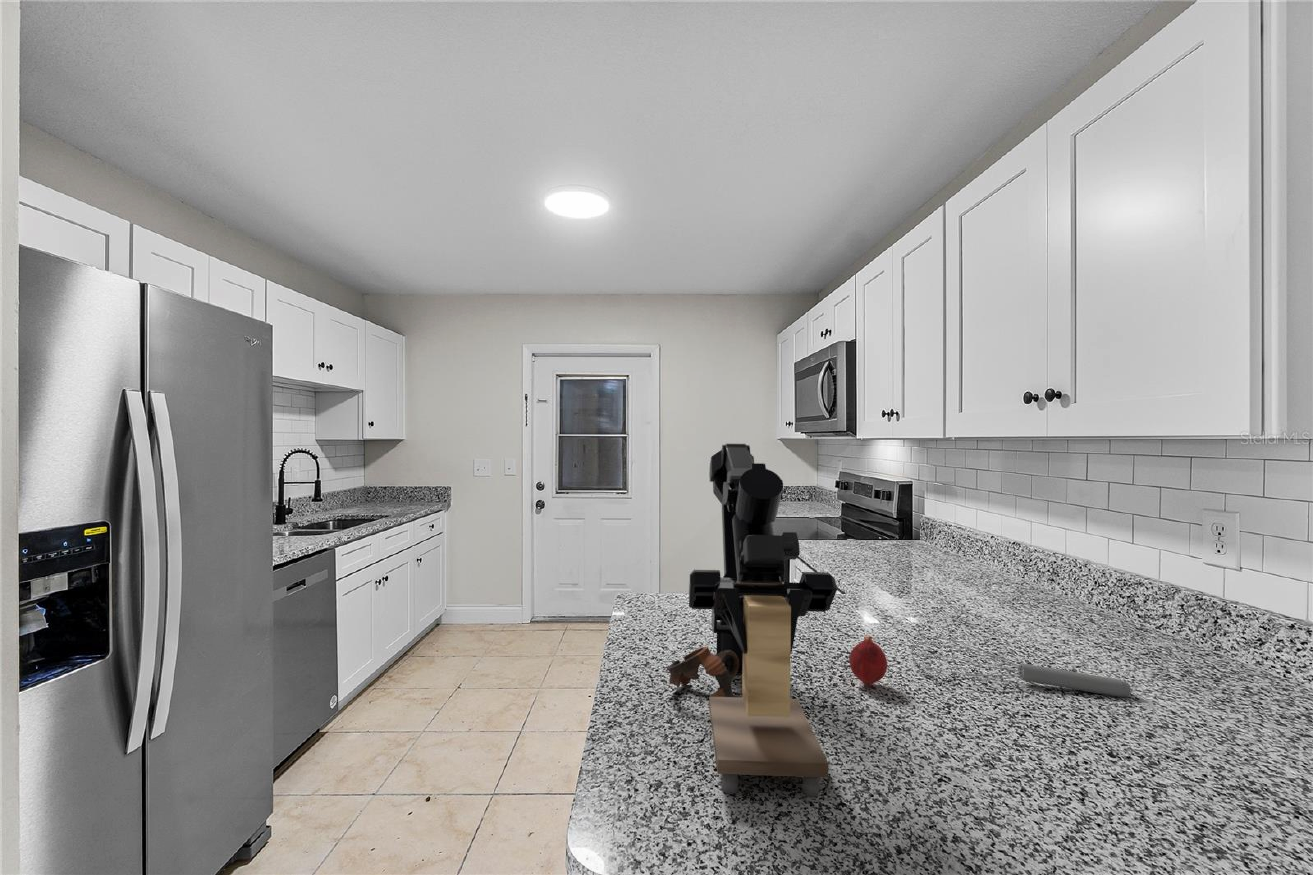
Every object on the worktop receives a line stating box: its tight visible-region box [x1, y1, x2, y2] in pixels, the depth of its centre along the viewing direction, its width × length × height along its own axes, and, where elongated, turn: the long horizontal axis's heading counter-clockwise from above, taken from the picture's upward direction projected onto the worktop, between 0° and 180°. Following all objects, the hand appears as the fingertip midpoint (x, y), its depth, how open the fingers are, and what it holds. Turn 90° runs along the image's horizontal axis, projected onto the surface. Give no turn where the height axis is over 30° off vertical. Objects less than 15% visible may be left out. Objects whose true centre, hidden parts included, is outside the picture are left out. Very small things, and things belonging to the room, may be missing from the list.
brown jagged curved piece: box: [667, 646, 739, 697], centre depth 89 cm, size 12×10×8 cm
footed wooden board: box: [708, 696, 829, 798], centre depth 70 cm, size 16×12×4 cm
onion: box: [848, 634, 888, 687], centre depth 92 cm, size 6×6×8 cm
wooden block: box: [741, 595, 792, 717], centre depth 70 cm, size 5×5×13 cm
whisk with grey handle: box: [910, 636, 1145, 698], centre depth 94 cm, size 6×34×6 cm, turn 73°
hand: (767, 652), depth 68 cm, fingers closed on wooden block, 5 cm apart
